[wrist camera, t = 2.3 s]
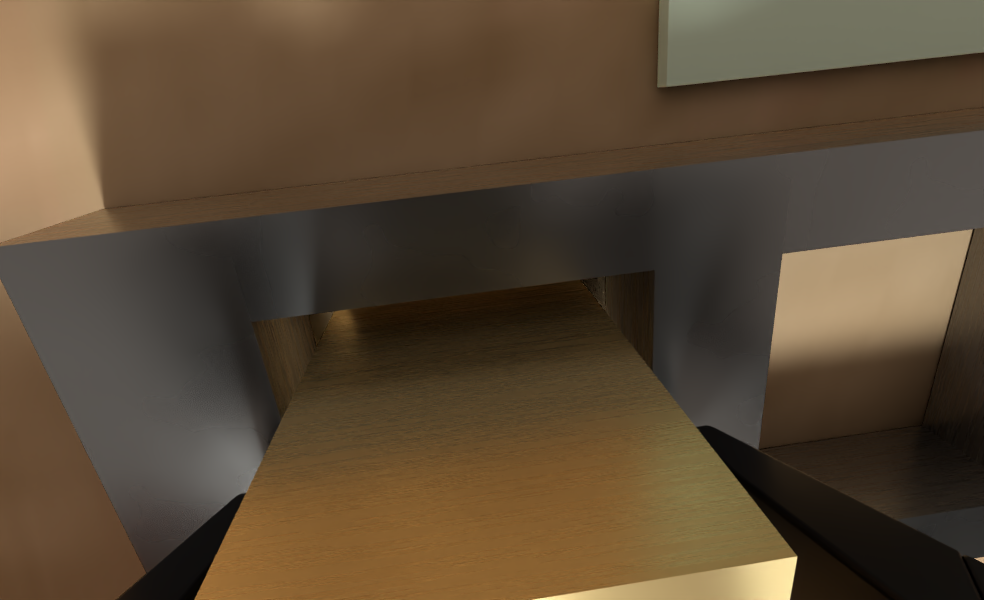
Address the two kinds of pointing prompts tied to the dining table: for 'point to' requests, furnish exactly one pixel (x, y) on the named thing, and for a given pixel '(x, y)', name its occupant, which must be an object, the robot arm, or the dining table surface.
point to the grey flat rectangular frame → (497, 266)
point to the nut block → (492, 468)
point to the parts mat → (807, 35)
